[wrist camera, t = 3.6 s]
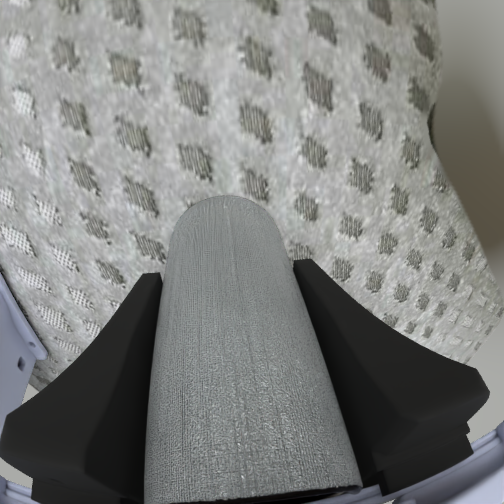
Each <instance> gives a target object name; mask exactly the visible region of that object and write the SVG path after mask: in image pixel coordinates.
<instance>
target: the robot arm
mask: <svg viewBox="0 0 504 504" xmlns="http://www.w3.org/2000/svg"><path fill="white" fill-rule="evenodd" d="M293 271H294V274H295V277H296V280H297V282H298V285H299V288H300V291H301V294H302V297H303V299H304V302H305V305H306V308H307V311H308V314H309V317H310V319H311V322H312V325H313V328H314V331H315V334H316V337H317V340H318V343H319V346H320V349H321V352H322V355H323V358H324V361H325V364H326V367H327V370H328V373H329V376H330V379H331V382H332V385H333V388H334V391H335V394H336V398H337V401H338V404H339V407H340V410H341V413H342V416H343V420H344V423H345V426H346V429H347V433H348V436H349V439H350V442H351V446H352V449H353V452H354V456H355V459H356V462H357V466H358V469H359V473H360V476H361V480H362V484H363V487H362V490H361V491H360V493H359V494H356V495H353V494H348V493H347V494H343V495H339V496H336V497H332V498H327V499H323V500H319V501H314V502H309V503H304V504H383V503H386V502H389V501H392V500H394V499H395V500H394V502H393V503H392V504H502V503H503V502H504V421H503V422H502V423H501V424H499V425H498V426H497V428H496V429H494V430H493V431H491V432H489V433H488V434H486V435H485V436H483V437H481V438H479V439H478V440H476V441H475V442H472V443H471V444H470V442H469V440H468V438H467V436H466V434H468V433H469V432H470V428H469V426H468V424H467V421H468V420H469V419H470V418H471V417H472V416H473V415H474V414H475V413H476V412H477V411H478V410H479V409H480V408H481V407H482V406H483V405H484V404H485V403H486V401H487V400H488V398H489V395H490V391H489V390H488V388H487V386H486V384H485V382H484V381H483V379H482V377H481V375H480V374H479V372H478V370H477V369H476V368H473V367H470V366H467V365H465V364H462V363H459V362H457V361H454V360H451V359H449V358H446V357H444V356H442V355H440V354H438V353H436V352H433V351H431V350H429V349H427V348H425V347H423V346H422V345H420V344H418V343H416V342H414V341H413V340H411V339H409V338H407V337H406V336H404V335H402V334H401V333H399V332H397V331H396V330H394V329H393V328H391V327H390V326H388V325H387V324H385V323H384V322H383V321H381V320H380V319H378V318H377V317H376V316H374V315H373V314H372V313H370V312H369V311H368V310H367V309H365V308H364V307H363V306H362V305H360V304H359V303H358V302H357V301H355V300H354V299H353V298H352V297H351V296H350V295H349V294H348V293H347V292H345V291H344V290H343V289H342V288H341V287H340V286H339V285H338V284H337V283H336V282H335V281H334V280H333V279H332V278H330V277H329V276H328V275H327V274H326V273H325V272H324V271H323V270H322V269H321V268H320V267H319V266H318V265H317V264H316V263H315V262H314V261H313V260H312V259H303V260H294V264H293ZM162 286H163V283H162V279H161V275H160V272H158V273H146V274H142V276H141V277H140V278H139V280H138V281H137V282H136V284H135V285H134V287H133V288H132V290H131V291H130V292H129V294H128V295H127V297H126V298H125V300H124V301H123V302H122V304H121V305H120V307H119V308H118V309H117V311H116V312H115V314H114V315H113V316H112V318H111V319H110V320H109V322H108V323H107V324H106V325H105V327H104V328H103V329H102V331H101V332H100V333H99V334H98V336H97V337H96V338H95V339H94V341H93V342H92V343H91V344H90V345H89V346H88V347H87V348H86V350H85V351H84V352H83V353H82V354H81V355H80V356H79V357H78V358H77V359H76V360H75V361H74V362H73V363H72V364H71V365H70V366H69V367H68V368H67V369H66V370H65V371H64V372H62V373H61V374H60V375H59V376H58V377H57V378H56V379H55V380H54V381H53V382H51V383H50V384H49V385H48V386H47V387H45V388H44V389H43V390H42V391H40V392H39V393H38V394H36V395H35V396H34V397H33V398H31V399H30V400H28V401H27V402H26V403H24V404H22V401H23V398H24V394H25V391H26V388H27V385H28V382H29V379H30V376H31V373H32V370H33V367H34V364H35V362H36V359H39V360H45V359H46V358H47V355H48V353H47V351H46V349H45V348H44V346H43V345H42V343H41V342H40V340H39V339H38V337H37V336H36V334H35V333H34V331H33V330H32V328H31V326H30V325H29V323H28V321H27V320H26V318H25V317H24V315H23V313H22V311H21V310H20V308H19V306H18V304H17V303H16V301H15V299H14V297H13V296H12V294H11V292H10V290H9V288H8V286H7V284H6V282H5V280H4V278H3V276H2V274H1V272H0V457H1V458H2V459H3V460H4V461H6V462H7V463H8V464H10V465H11V466H13V467H14V468H16V469H18V470H19V471H21V472H22V473H24V474H26V475H28V476H29V477H31V478H33V485H32V489H31V488H27V487H25V486H22V485H19V484H16V483H13V482H11V481H8V480H6V479H5V478H4V477H2V476H0V504H144V472H145V446H146V428H147V413H148V400H149V389H150V379H151V369H152V360H153V351H154V343H155V335H156V327H157V320H158V313H159V306H160V299H161V293H162ZM21 404H22V405H21Z"/></svg>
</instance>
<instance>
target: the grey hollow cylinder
mask: <svg viewBox="0 0 504 504" xmlns="http://www.w3.org/2000/svg"><path fill="white" fill-rule="evenodd" d="M362 487H363V484H362V480H361V476H360V473H359V469H358V466H357V462H356V459H355V456H354V452H353V449H352V446H351V442H350V439H349V436H348V433H347V429H346V426H345V423H344V420H343V416H342V413H341V410H340V407H339V404H338V401H337V398H336V394H335V391H334V388H333V385H332V382H331V379H330V376H329V373H328V370H327V367H326V364H325V361H324V358H323V355H322V352H321V349H320V346H319V343H318V340H317V337H316V334H315V331H314V328H313V325H312V322H311V319H310V317H309V314H308V311H307V308H306V305H305V302H304V299H303V297H302V294H301V291H300V288H299V285H298V282H297V280H296V277H295V274H294V271H293V268H292V266H291V263H290V260H289V257H288V255H287V252H286V249H285V246H284V244H283V241H282V238H281V236H280V233H279V231H278V228H277V226H276V224H275V222H274V221H273V219H272V217H271V216H270V215H269V214H268V212H267V211H266V210H265V209H263V208H262V207H261V206H259V205H258V204H256V203H254V202H252V201H250V200H248V199H245V198H241V197H236V196H217V197H212V198H209V199H205V200H203V201H201V202H199V203H197V204H195V205H193V206H192V207H191V208H189V209H188V210H187V211H186V212H185V213H184V214H183V215H182V216H181V217H180V219H179V220H178V222H177V224H176V226H175V228H174V231H173V234H172V237H171V241H170V246H169V252H168V257H167V263H166V268H165V274H164V280H163V286H162V293H161V299H160V306H159V313H158V320H157V327H156V335H155V343H154V351H153V360H152V369H151V379H150V389H149V400H148V413H147V428H146V446H145V472H144V504H304V503H309V502H314V501H319V500H323V499H327V498H332V497H336V496H339V495H343V494H347V493H348V494H353V495H356V494H359V493H360V491H361V490H362Z"/></svg>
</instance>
